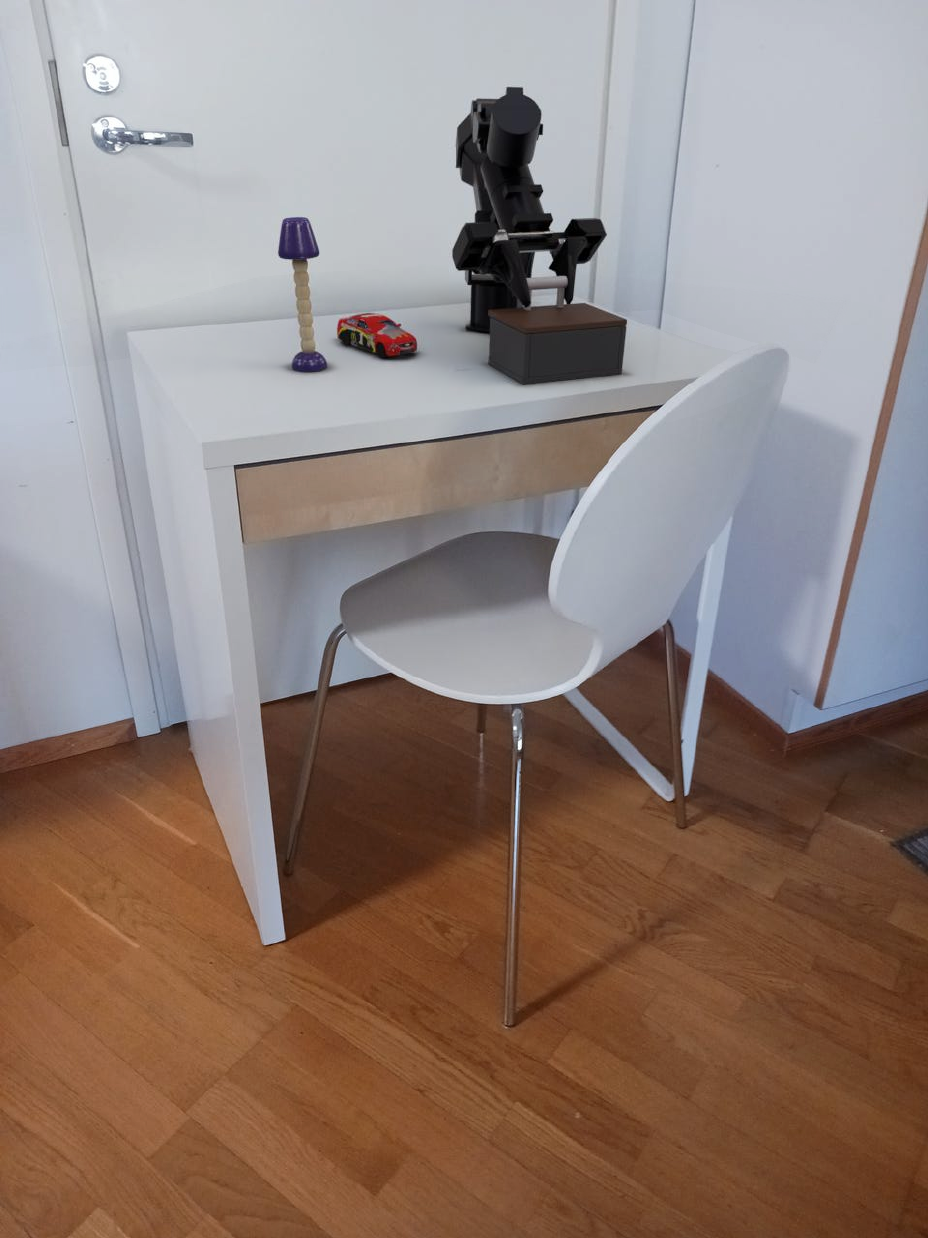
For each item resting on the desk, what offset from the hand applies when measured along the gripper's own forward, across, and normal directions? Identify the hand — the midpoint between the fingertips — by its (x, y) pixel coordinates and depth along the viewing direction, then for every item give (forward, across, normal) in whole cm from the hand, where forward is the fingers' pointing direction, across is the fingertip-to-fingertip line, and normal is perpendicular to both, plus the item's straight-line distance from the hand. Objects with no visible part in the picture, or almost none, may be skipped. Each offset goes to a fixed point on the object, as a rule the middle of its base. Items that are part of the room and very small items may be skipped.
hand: (549, 303), depth 114 cm
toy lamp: (-1, +28, -11) cm, 30 cm away
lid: (+3, 0, 0) cm, 3 cm away
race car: (-5, +17, -15) cm, 24 cm away
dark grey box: (+7, 0, -4) cm, 8 cm away
